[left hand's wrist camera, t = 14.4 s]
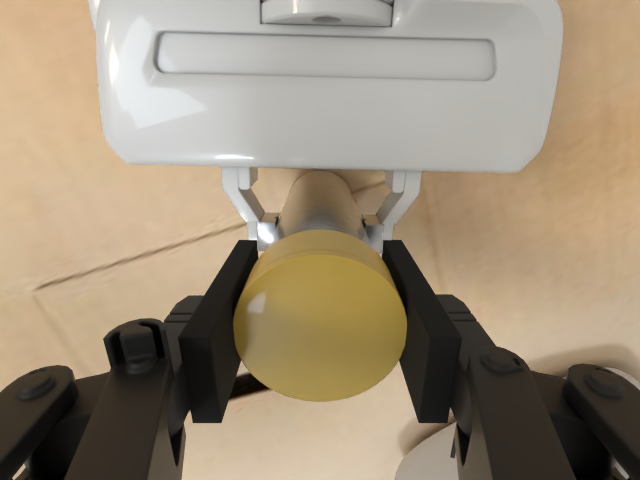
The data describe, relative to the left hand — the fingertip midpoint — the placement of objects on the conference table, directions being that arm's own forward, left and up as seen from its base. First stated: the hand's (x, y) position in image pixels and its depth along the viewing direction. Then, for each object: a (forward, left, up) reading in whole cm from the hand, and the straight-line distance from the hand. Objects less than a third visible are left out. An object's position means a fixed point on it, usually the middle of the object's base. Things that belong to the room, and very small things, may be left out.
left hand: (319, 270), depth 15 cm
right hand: (-1, 0, -5) cm, 5 cm away
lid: (0, 0, +4) cm, 4 cm away
